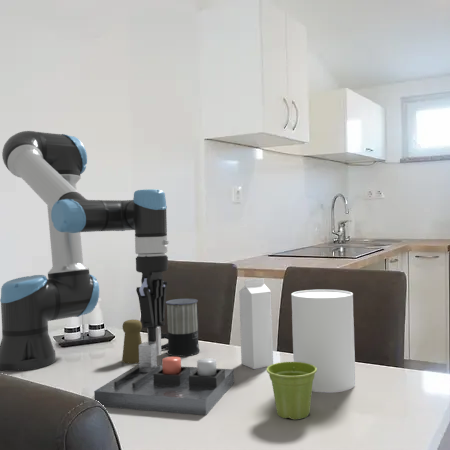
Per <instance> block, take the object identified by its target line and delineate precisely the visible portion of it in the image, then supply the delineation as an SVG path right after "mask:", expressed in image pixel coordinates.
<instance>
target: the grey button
mask: <svg viewBox="0 0 450 450" xmlns="http://www.w3.org/2000/svg"><path fill="white" fill-rule="evenodd" d="M196 362H197V366H196V367H197V369H198V376H210V377H215V376H216V375H217V371H216V368H217V359H215V358H210V357H209V358H200V359H198V360H197V361H196Z"/></svg>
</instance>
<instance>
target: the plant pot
mask: <svg viewBox="0 0 450 450" xmlns="http://www.w3.org/2000/svg"><path fill="white" fill-rule="evenodd" d="M316 371H317V368H316V367H315V366H314V365H311V364H308V363H303V362H294V361H282V362H281V361H280V362H276V363H273V364H272V365H270V366H268V367H266V373H268V374H269V379H270V381H271V386H272V391H273V396H274V397H273V398H274V401H275V403H274V404H275V409H276V414H277V416H279V417H280V418H283V419H287V418H289V419H291V420H301V419H305V418H308V417H309V414H310V412H311V404H312V403H311V401H312V393H313V391H312V383H313V379H314V375H315V373H316Z"/></svg>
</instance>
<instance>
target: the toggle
mask: <svg viewBox="0 0 450 450" xmlns="http://www.w3.org/2000/svg"><path fill="white" fill-rule="evenodd" d="M157 356H158V355H157V354H156V343H154V342H148V341H147V342H146V341H144V342H142V344H140V345H139V363H138V364H139V372H149V371H151V370H152V369H154V368H155V367H157V365H158V359H157Z"/></svg>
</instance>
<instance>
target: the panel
mask: <svg viewBox="0 0 450 450" xmlns="http://www.w3.org/2000/svg"><path fill="white" fill-rule="evenodd" d="M234 370H235V369H234V368H219V367H218V368H217V367H216V371H217V375H216V376H215V377H210V376H198V369H197V366H196V367H195V366H181V373H180V374H178V375H176V374H163V368H162V365H161V364H160V365H158V364H157V367H155V368H154V369H152V370H151V371H149V372H139V363H137V364H136V365H135V366H132V367H131V368H130V369H128V370H126V371H124V372H123V373H121V374H120V375H118V376H117V377H115V378H113V379H112V380H111V381H108V382H107V383H106V384H103V385H102V386H100V387H99V388H97V389H96V390H94V392H93V393H94V396H93V397H94V401H95V400H97V401H99V402H100V403H101V404H102V405H104V406H105V407H104V408H116V409H118V408H119V409H125V410H127V409H128V410H141V411H153V412H165V413H178V414H186V415H188V414H189V415H200V416H202V415H203V416H207V415H208V414H209V412H210V411H211V410H212V409H213V407H215V406H216V404H218V402H219V401H220V399H222V397H223V396H224V395H225V394H226V393H227V392H228V390H230V388H231V386H233V385H234V384H235V371H234Z"/></svg>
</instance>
